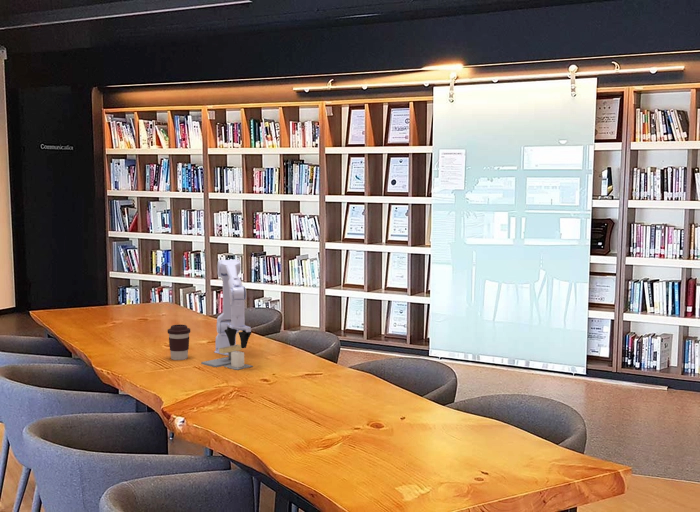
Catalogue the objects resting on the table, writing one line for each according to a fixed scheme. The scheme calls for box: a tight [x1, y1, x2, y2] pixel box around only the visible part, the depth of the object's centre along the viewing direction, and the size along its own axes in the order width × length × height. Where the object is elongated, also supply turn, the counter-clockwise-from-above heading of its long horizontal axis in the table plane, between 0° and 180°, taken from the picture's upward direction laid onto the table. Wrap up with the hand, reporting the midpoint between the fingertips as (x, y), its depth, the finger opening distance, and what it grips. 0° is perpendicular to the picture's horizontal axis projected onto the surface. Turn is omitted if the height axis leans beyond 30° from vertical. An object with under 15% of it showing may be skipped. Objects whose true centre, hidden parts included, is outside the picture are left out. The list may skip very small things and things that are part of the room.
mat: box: [223, 363, 254, 371], centre depth 328 cm, size 9×9×1 cm
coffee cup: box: [167, 324, 191, 361], centre depth 342 cm, size 10×10×15 cm
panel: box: [201, 352, 231, 368], centre depth 333 cm, size 10×14×5 cm
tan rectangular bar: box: [218, 343, 242, 355], centre depth 337 cm, size 2×11×2 cm, turn 143°
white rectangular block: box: [230, 350, 245, 368], centre depth 327 cm, size 4×6×4 cm
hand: (238, 346), depth 327 cm, fingers open, 7 cm apart
